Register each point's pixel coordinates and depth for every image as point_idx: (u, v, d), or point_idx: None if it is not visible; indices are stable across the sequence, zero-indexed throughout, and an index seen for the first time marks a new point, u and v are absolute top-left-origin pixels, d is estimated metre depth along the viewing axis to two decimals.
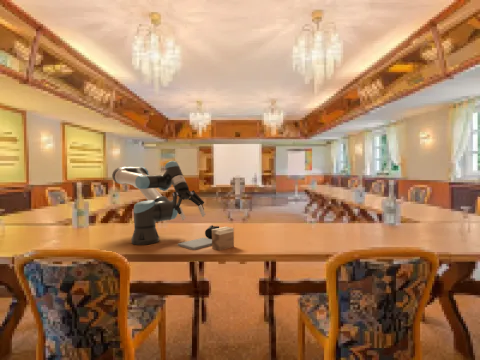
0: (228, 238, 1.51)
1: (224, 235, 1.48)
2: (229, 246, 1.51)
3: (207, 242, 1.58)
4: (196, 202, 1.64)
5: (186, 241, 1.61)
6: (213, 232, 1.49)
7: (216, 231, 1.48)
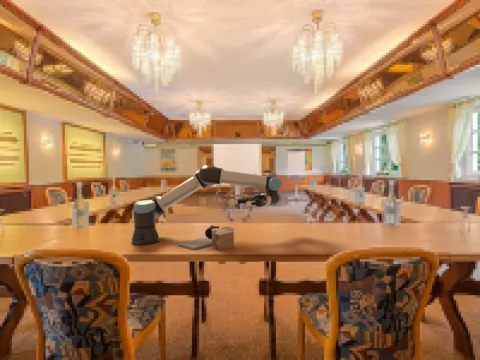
0: (228, 238, 1.51)
1: (224, 235, 1.48)
2: (229, 246, 1.51)
3: (207, 242, 1.58)
4: (241, 201, 1.70)
5: (186, 241, 1.61)
6: (213, 232, 1.49)
7: (216, 231, 1.47)
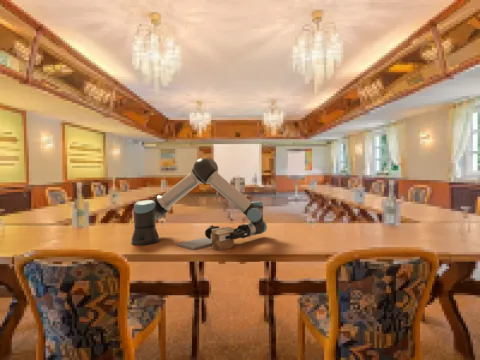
0: None
1: None
2: (229, 246, 1.51)
3: (207, 242, 1.58)
4: None
5: (186, 241, 1.61)
6: (213, 232, 1.49)
7: (216, 231, 1.48)
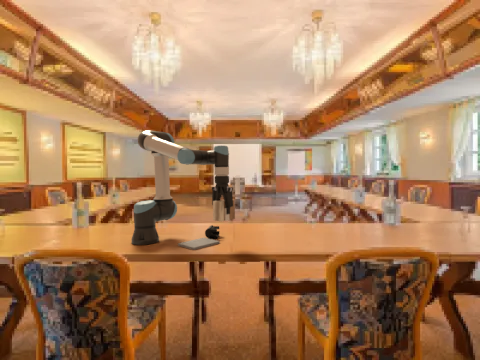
0: None
1: None
2: (233, 206, 1.53)
3: (207, 242, 1.58)
4: None
5: (186, 241, 1.61)
6: None
7: (218, 220, 1.49)
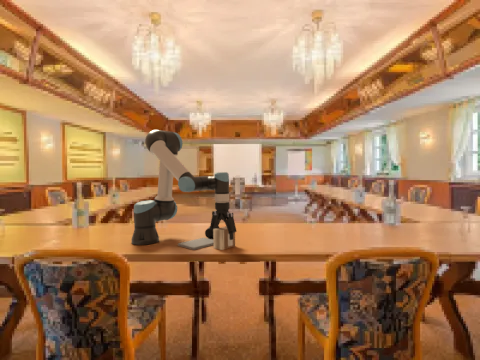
0: None
1: (225, 242, 1.49)
2: (233, 233, 1.53)
3: (207, 242, 1.58)
4: (217, 225, 1.55)
5: (186, 241, 1.61)
6: None
7: None
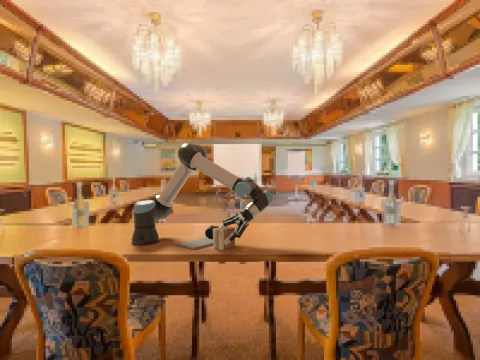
0: (227, 236, 1.50)
1: None
2: None
3: (207, 242, 1.58)
4: (228, 223, 1.61)
5: (186, 241, 1.61)
6: None
7: None
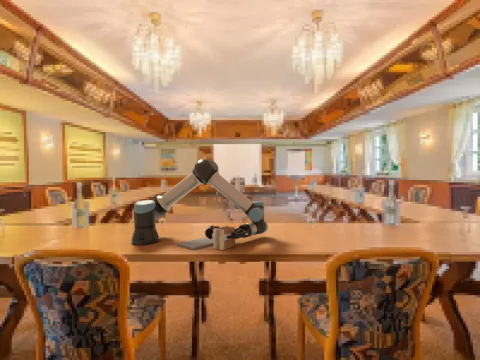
0: None
1: (225, 242, 1.49)
2: None
3: (207, 242, 1.58)
4: None
5: (186, 241, 1.61)
6: None
7: None
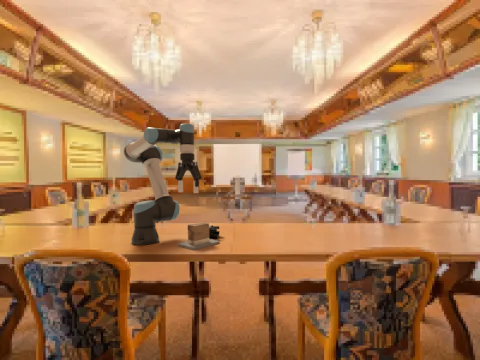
0: (200, 234, 1.56)
1: (204, 237, 1.58)
2: (199, 226, 1.56)
3: (207, 242, 1.58)
4: (181, 176, 1.60)
5: (186, 241, 1.61)
6: None
7: None
